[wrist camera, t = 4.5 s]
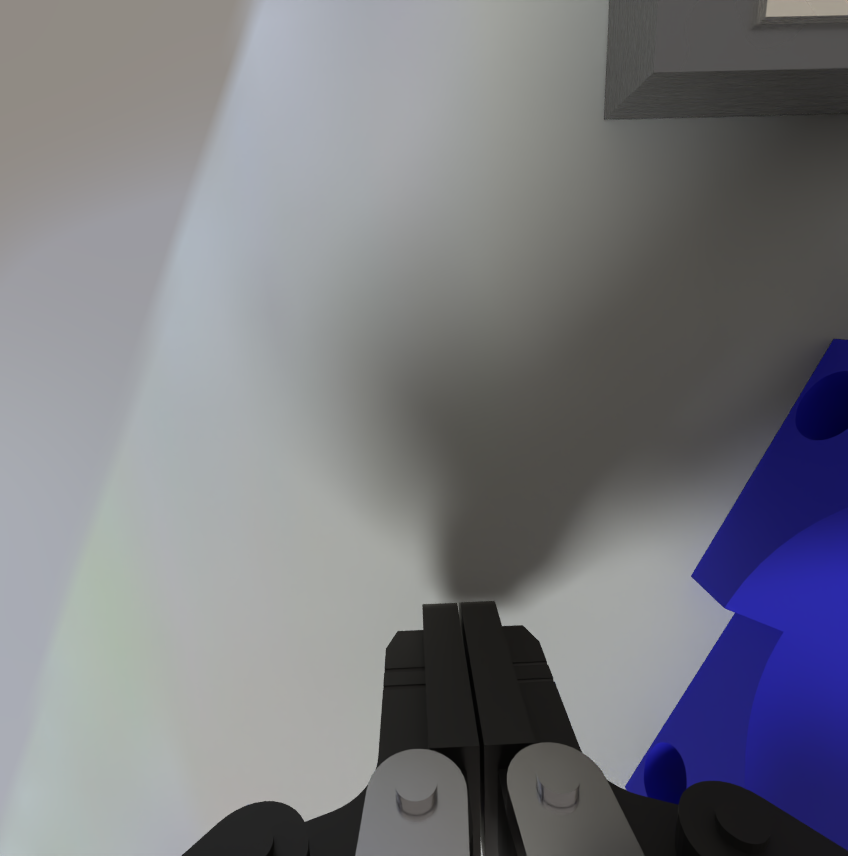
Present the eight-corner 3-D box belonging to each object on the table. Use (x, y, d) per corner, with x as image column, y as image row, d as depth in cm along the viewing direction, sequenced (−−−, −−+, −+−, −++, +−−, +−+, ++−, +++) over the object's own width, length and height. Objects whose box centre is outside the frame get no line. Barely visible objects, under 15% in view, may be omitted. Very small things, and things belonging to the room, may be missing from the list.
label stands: (1184, -151, 9) (1445, -304, 7) (889, 991, 16) (971, 1107, 13) (616, -142, 9) (688, -298, 6) (563, 1012, 15) (589, 1133, 13)
